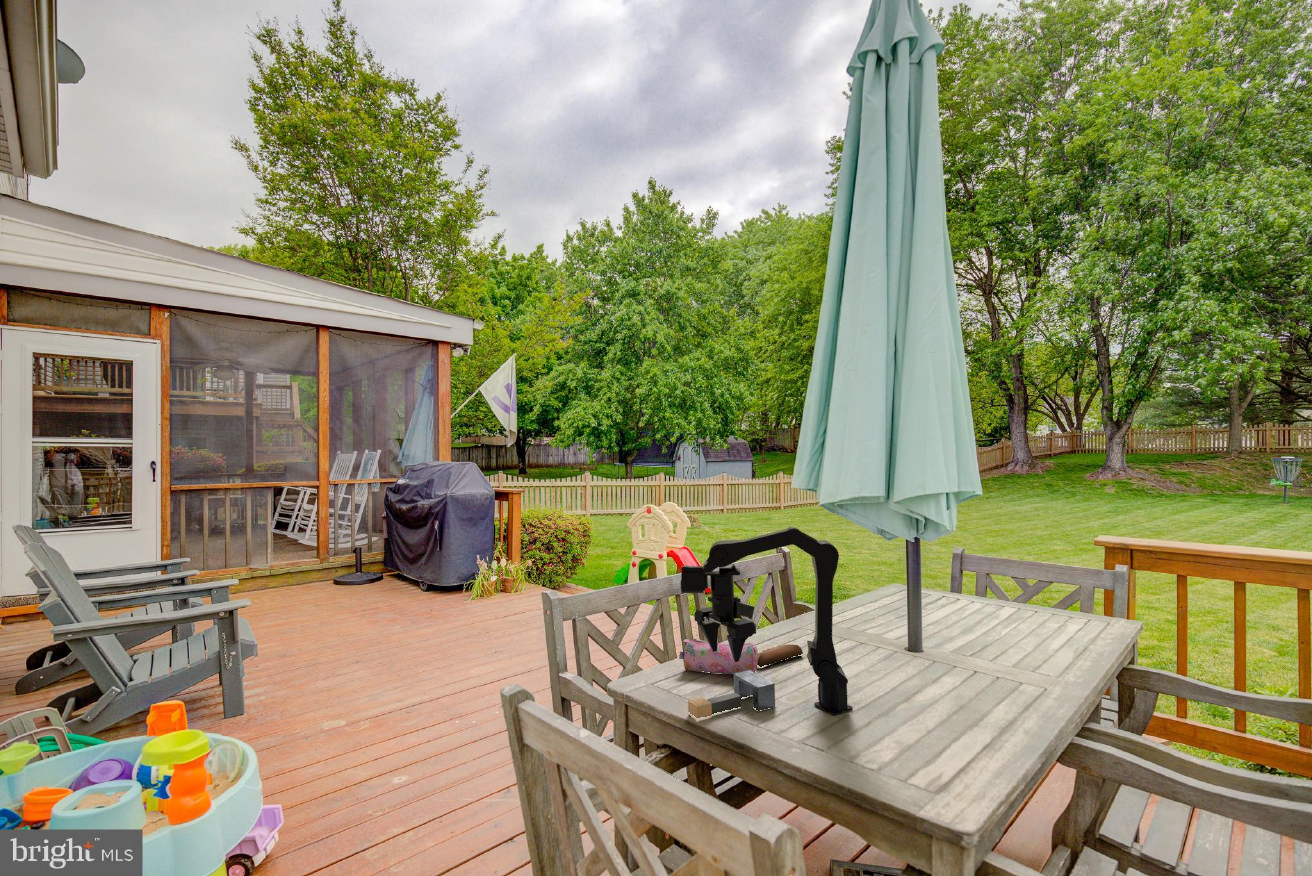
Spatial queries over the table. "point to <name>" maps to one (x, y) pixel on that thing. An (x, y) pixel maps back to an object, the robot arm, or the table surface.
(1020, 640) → the table surface
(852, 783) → the table surface
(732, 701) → the plug
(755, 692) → the grey arch block
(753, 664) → the pencil case
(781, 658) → the sunglasses case
